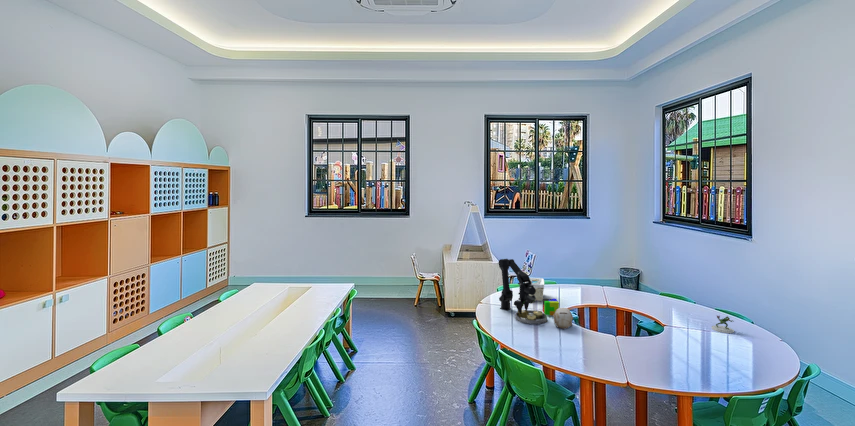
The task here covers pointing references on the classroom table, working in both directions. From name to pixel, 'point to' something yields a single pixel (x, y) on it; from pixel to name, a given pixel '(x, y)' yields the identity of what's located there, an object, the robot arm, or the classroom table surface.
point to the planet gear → (523, 313)
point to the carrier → (532, 317)
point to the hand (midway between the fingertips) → (523, 312)
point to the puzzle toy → (550, 306)
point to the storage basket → (538, 288)
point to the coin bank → (563, 318)
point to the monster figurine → (723, 328)
